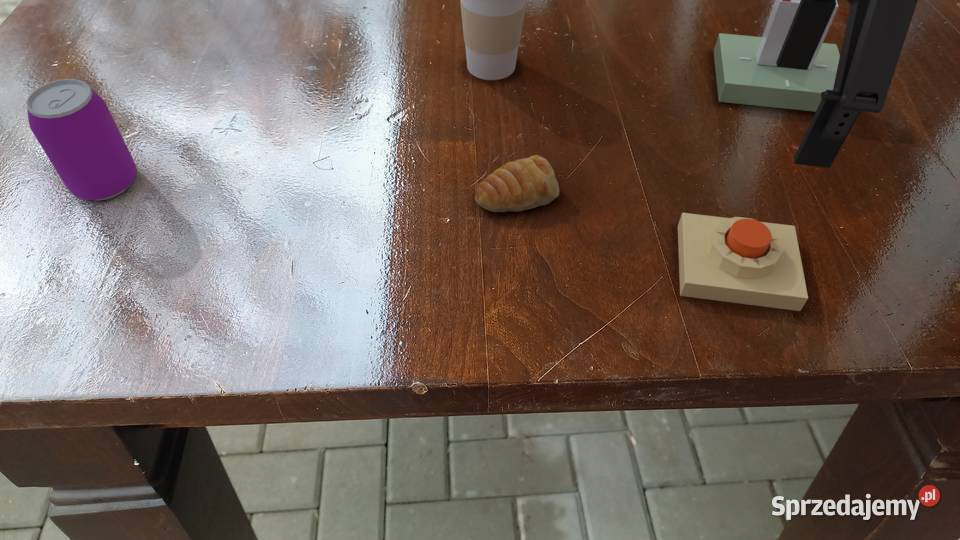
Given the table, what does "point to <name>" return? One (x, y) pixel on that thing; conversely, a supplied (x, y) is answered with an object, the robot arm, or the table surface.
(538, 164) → the pastry
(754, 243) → the button
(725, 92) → the panel
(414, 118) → the table surface
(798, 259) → the button box
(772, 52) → the switch lever
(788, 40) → the robot arm
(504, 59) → the coffee cup
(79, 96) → the beverage can
